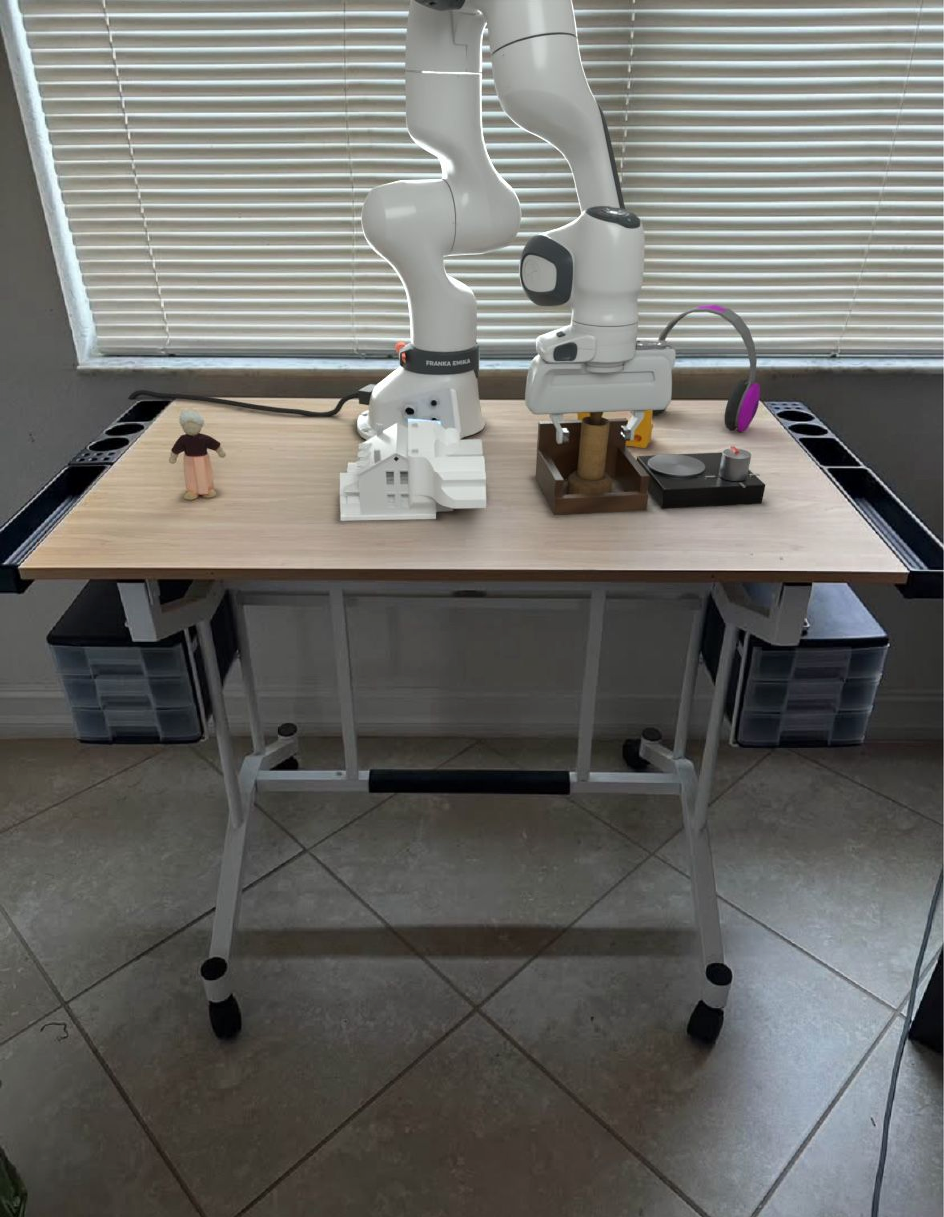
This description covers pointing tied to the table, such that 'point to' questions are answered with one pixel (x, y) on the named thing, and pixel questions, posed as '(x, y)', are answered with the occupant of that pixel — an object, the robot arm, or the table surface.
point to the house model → (413, 474)
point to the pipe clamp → (636, 430)
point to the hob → (702, 486)
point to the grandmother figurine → (196, 455)
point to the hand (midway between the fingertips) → (594, 441)
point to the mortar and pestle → (591, 458)
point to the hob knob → (734, 464)
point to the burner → (676, 465)
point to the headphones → (745, 392)
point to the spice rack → (563, 461)
